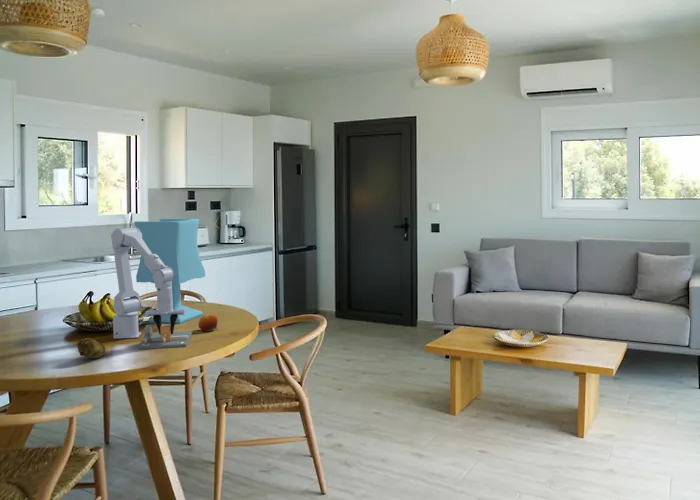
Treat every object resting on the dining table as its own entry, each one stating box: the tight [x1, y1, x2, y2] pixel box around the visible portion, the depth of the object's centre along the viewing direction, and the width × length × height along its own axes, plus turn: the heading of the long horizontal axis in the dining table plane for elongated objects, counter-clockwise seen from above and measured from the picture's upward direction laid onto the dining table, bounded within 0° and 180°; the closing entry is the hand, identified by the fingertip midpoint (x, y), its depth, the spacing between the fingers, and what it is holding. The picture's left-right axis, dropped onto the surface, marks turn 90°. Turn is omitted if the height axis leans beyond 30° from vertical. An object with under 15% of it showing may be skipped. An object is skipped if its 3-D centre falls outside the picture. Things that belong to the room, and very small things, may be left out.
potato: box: [76, 337, 106, 359], centre depth 233 cm, size 8×13×8 cm, turn 157°
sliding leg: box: [160, 323, 172, 343], centre depth 253 cm, size 4×9×6 cm, turn 7°
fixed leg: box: [143, 324, 153, 344], centre depth 252 cm, size 2×9×6 cm, turn 7°
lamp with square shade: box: [133, 218, 206, 325], centre depth 299 cm, size 22×22×45 cm
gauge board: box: [137, 330, 193, 350], centre depth 258 cm, size 18×22×2 cm
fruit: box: [198, 313, 219, 332], centre depth 275 cm, size 8×8×8 cm
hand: (166, 333), depth 255 cm, fingers closed on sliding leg, 4 cm apart
